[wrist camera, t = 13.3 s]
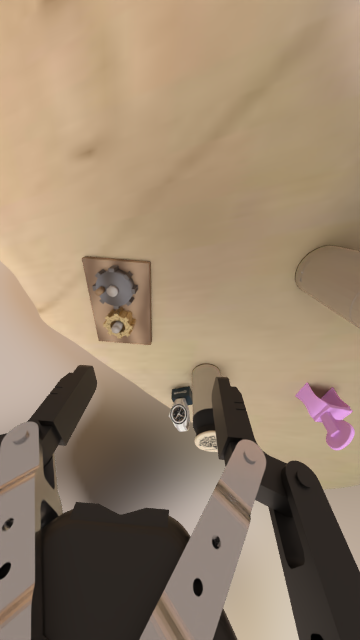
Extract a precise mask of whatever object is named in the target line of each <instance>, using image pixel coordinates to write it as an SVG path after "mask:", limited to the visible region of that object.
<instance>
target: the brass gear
mask: <svg viewBox="0 0 360 640" xmlns="http://www.w3.org/2000/svg"><path fill="white" fill-rule="evenodd" d="M132 314H133V313H132V312H131V311H129V312H127V311H125V310H123V308H122V307H120V308H119V309H117V310H116V311H114V310H113V309H112V310H111V311H110V312H109V314H108V315H107V316H106V317H105V319H106V321H105V322H104V323H103V327H106V329H107V330H108V334H109V335H112V334H113V335H115V336H117V338H122V337H123V336H125V335H126V336H127V337H128V336H129V335H130V334H131V332H132V330H133V328H134V325H135V323H136V319H133V317H132ZM116 320H119V321H121V322H123V324H124V325H125V326H123V327H122V328H121V330H120V332H119V333H113V332H112V330H111V328H112V326H113V325H114V323H115V322H116Z"/></svg>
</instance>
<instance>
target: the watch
mask: <svg viewBox="0 0 360 640" xmlns="http://www.w3.org/2000/svg"><path fill="white" fill-rule="evenodd" d="M172 400H173V402H174V403H173V406H172V408H171V410H170V414H169V417H170V418H171V420H172V422H173V423H174V425H175V427H177V429H178V431H180V432H181V431H188V430H189V422H190V416H189V409H188V406H187V405H192V404H193V395H192V391H191V389H190V387H183V388H178V389H172Z"/></svg>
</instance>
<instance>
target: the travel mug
mask: <svg viewBox="0 0 360 640" xmlns="http://www.w3.org/2000/svg"><path fill="white" fill-rule="evenodd" d="M216 377H221V374H220V371H219V369H218V368H217V367H215V366H213V365H209V364H204V365H200V366H198V367H196V368H195V369H194V370H193V372H192V395H193V428H194V430H195V432H196V438H195V444H196V446H197V447H198V448H200V449H202V450H205V451H210V452H218V448H217V440H216V432H215V424H214V416H213V408H212V390H213V386H214V382H215V378H216Z"/></svg>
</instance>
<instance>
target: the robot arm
mask: <svg viewBox="0 0 360 640" xmlns="http://www.w3.org/2000/svg"><path fill="white" fill-rule="evenodd" d="M295 280H296V284H297V286H298V287H299V288H300V289H301V290H303V291H304V292H306V293H307V294H309V295H310V296H312V297H313V298H314V299H316V300H318V301H319V302H321V303H322V304H324V305H325V306H327V307H328V308H330V309H331V310H333V311H334V312H336V313H337V314H339V315H340V316H342V317H343V318H345V319H346V320H348V321H349V322H351V323H352V324H354V325H355V326H357V327H359V328H360V251H357V250H353V249H348V248H343V247H338V246H331V245H330V246H323V247H320V248H318V249H316V250H314V251H312V252H311V253H309V254H308V255H307V256H306V257H305V258H304V259H303V260H302V261H301V263H300V264H299V266H298V268H297V271H296V276H295ZM96 387H97V380H96V376H95V372H94V368H93V366H87V365H79V366H78V367H77V368H76V370H75V371H74V372H73V373H68V374H67V375H66V376H64V377H63V378H62V379H61V380H60V381H59V382H58V384H57V385H56V386H55V388H54V389H53V390H52V391H51V392H50V394H49V395H48V396H47V398H46V399H45V400H44V401H43V403H42V404H41V405H40V406H39V408H38V409H37V410H36V412H35V413H34V414H33V415H32V417H31V418H30V419H29V420H28V421H27V422H25V423H22V424H20V425H18V426H16V427H14V428H13V429H12V430H11V431H9V432H8V433H7V434H3V435H0V640H237V638H236V636H235V633H234V631H233V629H232V626H231V624H230V622H229V620H228V618H227V616H226V613H225V611H224V609H223V606H224V603H225V600H226V597H227V593H228V590H229V587H230V584H231V581H232V578H233V575H234V572H235V568H236V566H237V562H238V559H239V556H240V553H241V550H242V547H243V544H244V541H245V537H246V534H247V531H248V528H249V524H250V519H251V518H250V514H251V510H252V507H253V504H254V501H255V500H257V501H259V502H261V503H263V504H264V505H266V506H268V507H269V511H270V515H271V520H272V524H273V528H274V533H275V537H276V541H277V546H278V550H279V554H280V559H281V563H282V567H283V572H284V576H285V580H286V585H287V589H288V593H289V597H290V602H291V606H292V610H293V615H294V619H295V623H296V627H297V631H298V636H299V640H360V572H359V570H358V567H357V565H356V563H355V561H354V558H353V556H352V554H351V552H350V549H349V547H348V545H347V542H346V540H345V538H344V536H343V533H342V531H341V529H340V527H339V524H338V522H337V520H336V518H335V516H334V513H333V511H332V509H331V507H330V505H329V502H328V500H327V498H326V495H325V493H324V491H323V489H322V486H321V484H320V482H319V480H318V478H317V477H316V475H315V474H314V472H313V471H312V470H311V469H310V468H309V467H307V466H306V465H305V464H303V463H301V462H299V461H290V462H289V463H288V464H287V463H284V462H282V461H280V460H278V459H275V458H273V457H271V456H269V455H268V454H266V453H265V452H264V451H263V450H262V449H261V448H260V447H259V446H258V444H257V443H256V441H255V438H254V435H253V432H252V428H251V425H250V421H249V418H248V415H247V411H246V408H245V405H244V401H243V398H242V394H241V393H240V392H239V390H238V389H237V387H231V386H230V383H229V379H228V378H227V377H216V378H215V382H214V386H213V390H212V408H213V416H214V424H215V432H216V440H217V448H218V456H219V459H222V460H225V467H226V468H225V470H224V472H223V474H222V476H221V478H220V480H219V482H218V484H217V485H216V487H215V489H214V491H213V493H212V495H211V497H210V499H209V501H208V504H207V505H206V508H205V509H204V511H203V513H202V515H201V518H200V519H199V522H198V523H197V525H196V528H195V530H194V531H193V533H192V535H191V537H190V535H189V534H188V532H187V531H186V530H185V528H184V527H183V526H182V525H181V524H180V523H179V522H178V521H176V520H175V519H174V518H172V517H170V516H169V510H165V509H153V508H144V509H141V510H137V511H134V512H130V513H127V514H123V515H119V514H117V513H115V512H113V511H111V510H109V509H107V508H106V507H104V506H102V505H100V504H93V503H81V502H76V504H75V506H74V509H72V510H70V511H67V512H65V513H63V510H62V504H61V500H60V496H59V493H58V485H57V474H56V462H55V453H54V452H55V450H56V448H57V446H58V445H64V446H66V445H67V443H68V441H69V439H70V437H71V435H72V433H73V431H74V429H75V428H76V426H77V424H78V422H79V420H80V418H81V416H82V415H83V413H84V411H85V409H86V407H87V405H88V403H89V402H90V400H91V398H92V396H93V394H94V392H95V390H96Z"/></svg>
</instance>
